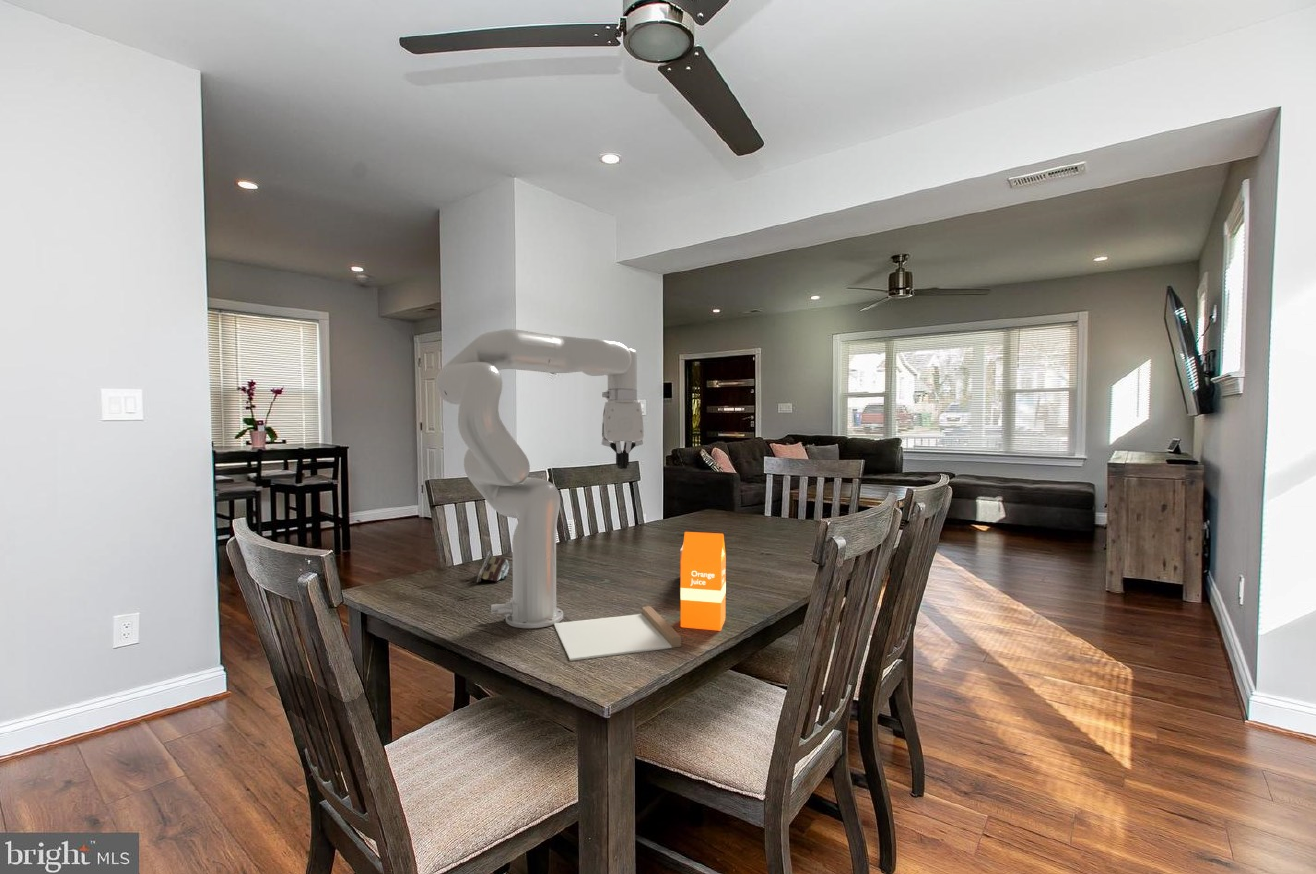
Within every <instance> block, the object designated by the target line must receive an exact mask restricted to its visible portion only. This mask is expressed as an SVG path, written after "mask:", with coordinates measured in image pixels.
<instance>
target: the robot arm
mask: <svg viewBox="0 0 1316 874" xmlns="http://www.w3.org/2000/svg"><path fill="white" fill-rule="evenodd" d="M499 370H501V371H502V370H515V371H516V370H519V371H530V372H538V373H539V372H541V373H549V374H571V373H572V374H573V373H581V372H582V373H583V374H585V375H587V376H591V377H600V376H607V390H606V391H605V392H604V391H603V392H602V393H601V397H602V398H605V399H606V400H607V401H605V403H604V406H603V407H604V408H603V413H602V422H601V423H602V424H601V436H602V440H601V446H606V447H609V448H611V449H612V450H613V451H614V453H615V465H616V466H617V468H618V469H620V470H623V469H624V470H625V469H626V470H627V469H628V466H629V465H630V457H629V456H630V453H631V451H632V450H633V449H634V448H636V447H639V446H642V445H643V444H644V441H643V439H644V432H645V431H644V418H643V417H644V416H643V410H642V404H641V402H640V401H639V402H638V354H637V351H636V349H634V348H629V347H627V346H626V345H624V343H621V342H618V341H613V340H606V339H599V338H598V339H597V338H586V337H576V336H567V335H565V336H564V335H553V334H548V333H541V332H533V331H530V330H529V331H528V330H520V329H515V328H513V329H512V328H507V329H506V328H505V329H500V330H493V331H487V332H484V333H482V334H481V335H479V336H477V337H476V338H475V339H474V340H472V341H471V342H470V343H469V344H467V345H466V346H465V347H464V348H463V349H462V350H460V351H459V353H458V354H456V355H455V356H454V357H453V358H451V360H449V361H448V362H447V363H446V364H445V365H443V367H442V368H441V369H440V370H439V371H438V373H437V376H436V379H435V389H436V392H437V394H438V396H439V397H440V398H441V399H442V400H444V402H447V403H449V404H452V405H458V414H457V428H458V432H459V434H460V437H461V439H462V440H463V442H464V444H465V446H466V447H467V448H468V449H467V450H466V452H465V454H464V458H463V467H464V468H463V469H464V472H465V474H466V476H467V478H468V480H469V481H470V483H471V484H472V485H473V486H474V488H475V489H476V490H477V491H478V492H479V494H481V496H482V497H483V498H484V500H485V501H486V502H487V504H489V505H490V507H491V508H492V509H493V510H494V511H495V512H496V513H498V514H500V515H502V516H503V517H508V518H512V519H517V523H516V527H515V529H514V532H513V536H512V543H511V545H512V547H511V548H512V549H511V550H512V551H511V552H512V597H510V600H509V601H506V602H505V603H501V604H500V603H495V604H494V603H493V604H491V614H497V616H504V615H505V623H506V624H507V625H508V626H511V627H514V628H517V629H518V628H519V629H540V628H541V629H542V628H545V627H546V628H547V627H550V626H554V624H555V623H561V621H562V620H563V619H564V611H563V610H562V609H560V608H559V607H557V526H558V518H559V513H560V508H561V496H560V492H559V490H558V488H557V486H556V485H555V484H553V483H552V482H550V481H549V480H546V479H543V478H537V477H529V474H530V470H531V467H530V466H531V465H530V461H529V459H528V457H527V455H526V453H525V452H524V450H523V449H522V448H521V446H520V445H519V444H518V442H517V441H516V440H515V439H514V437H513V435H511V433H510V432H509V430H508V429H507V427H506V426H505V424H504V423H503V421H502V419H501V418H500V413H499V404H500V398H501V394H502V390H503V377H502V375H501V373H500V371H499ZM621 442H623V448H622V444H621ZM622 449H623V450H622Z"/></svg>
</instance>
